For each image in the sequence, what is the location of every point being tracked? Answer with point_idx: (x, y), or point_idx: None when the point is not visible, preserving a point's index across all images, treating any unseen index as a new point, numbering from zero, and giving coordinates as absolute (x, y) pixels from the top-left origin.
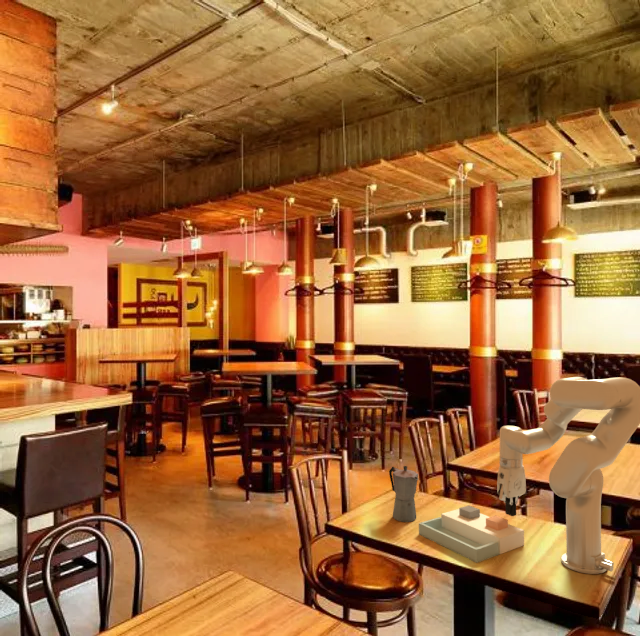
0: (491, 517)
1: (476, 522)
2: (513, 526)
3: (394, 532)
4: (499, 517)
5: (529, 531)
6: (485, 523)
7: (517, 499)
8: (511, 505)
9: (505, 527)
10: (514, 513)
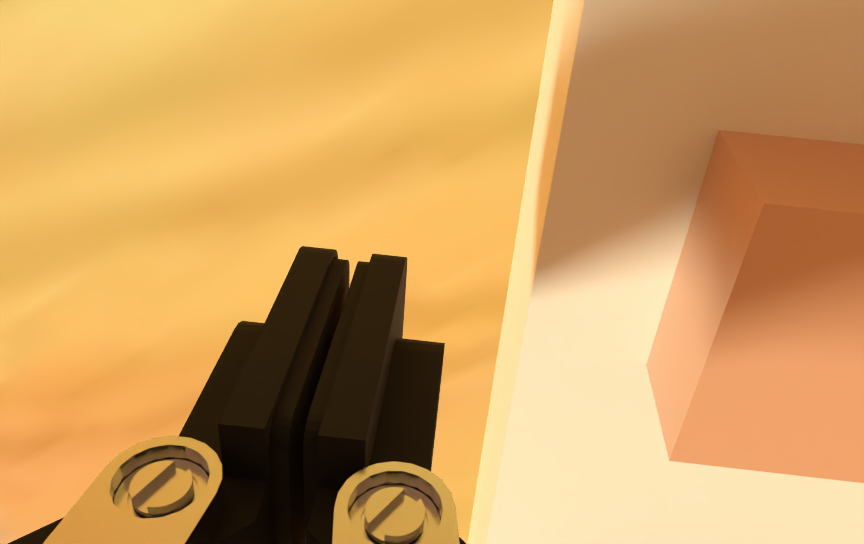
0: (838, 460)
1: (844, 518)
2: (592, 80)
3: None
4: (730, 376)
5: (66, 58)
6: None
7: (60, 538)
8: (367, 463)
9: (800, 141)
10: (339, 280)
